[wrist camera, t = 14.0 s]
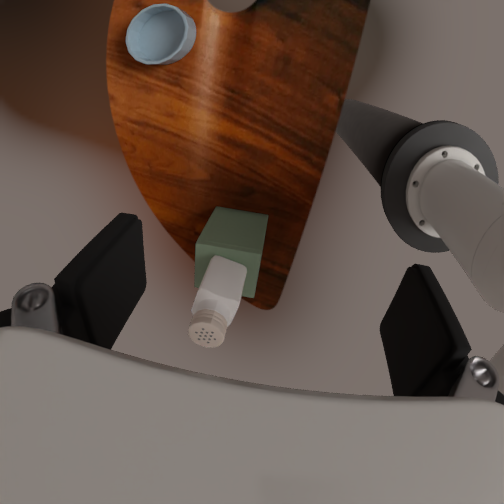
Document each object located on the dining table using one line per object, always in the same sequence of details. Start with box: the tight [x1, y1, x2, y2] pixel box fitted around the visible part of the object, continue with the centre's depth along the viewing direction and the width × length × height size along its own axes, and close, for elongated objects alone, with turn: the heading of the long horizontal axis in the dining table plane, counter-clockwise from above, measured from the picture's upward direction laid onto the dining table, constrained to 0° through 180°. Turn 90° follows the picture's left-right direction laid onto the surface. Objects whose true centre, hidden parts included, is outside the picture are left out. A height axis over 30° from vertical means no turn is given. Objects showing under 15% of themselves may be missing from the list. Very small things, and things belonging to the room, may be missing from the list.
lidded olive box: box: [195, 206, 268, 298], centre depth 38 cm, size 7×6×10 cm
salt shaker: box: [188, 255, 247, 348], centre depth 29 cm, size 4×4×10 cm
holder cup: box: [126, 4, 196, 65], centre depth 27 cm, size 8×8×3 cm
